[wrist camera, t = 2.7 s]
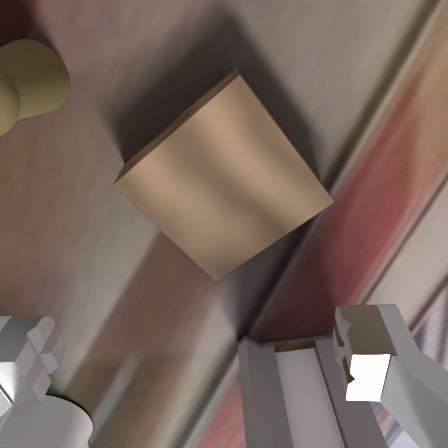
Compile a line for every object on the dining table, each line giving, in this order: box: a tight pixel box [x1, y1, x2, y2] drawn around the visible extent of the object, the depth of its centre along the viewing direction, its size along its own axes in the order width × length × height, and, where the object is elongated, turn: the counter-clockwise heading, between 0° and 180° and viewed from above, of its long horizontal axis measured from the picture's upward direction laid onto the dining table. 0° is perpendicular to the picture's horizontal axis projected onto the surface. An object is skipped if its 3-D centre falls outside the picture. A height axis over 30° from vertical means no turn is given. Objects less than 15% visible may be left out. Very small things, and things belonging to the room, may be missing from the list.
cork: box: [0, 39, 70, 136], centre depth 27 cm, size 6×6×11 cm
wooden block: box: [113, 67, 334, 281], centre depth 35 cm, size 14×14×5 cm
